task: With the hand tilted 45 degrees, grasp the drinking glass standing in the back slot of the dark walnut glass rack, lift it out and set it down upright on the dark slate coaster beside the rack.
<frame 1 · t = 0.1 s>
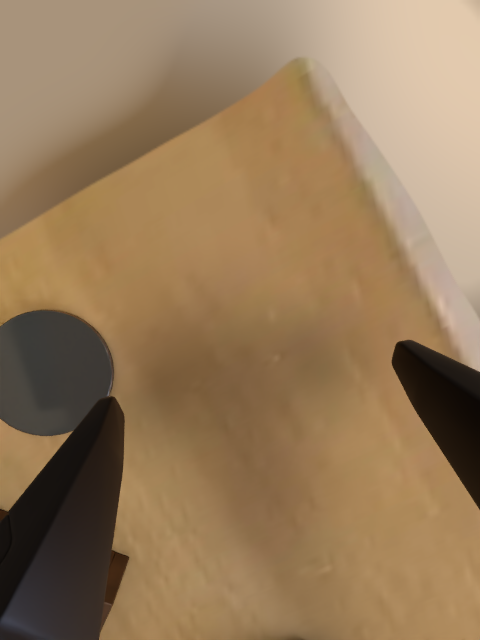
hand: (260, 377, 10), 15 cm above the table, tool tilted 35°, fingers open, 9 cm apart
coaster: (49, 372, 24), on the table
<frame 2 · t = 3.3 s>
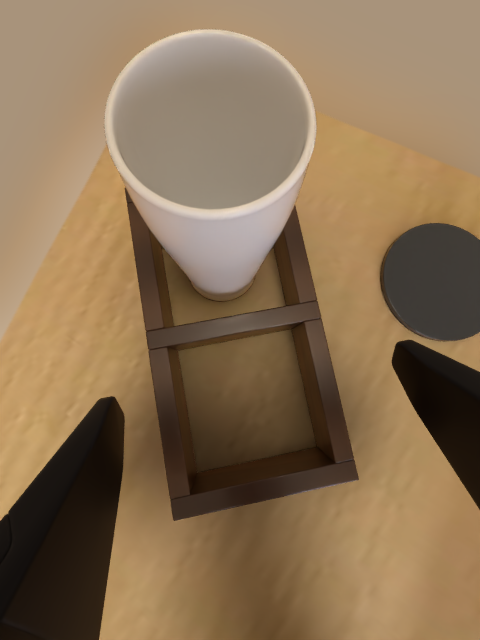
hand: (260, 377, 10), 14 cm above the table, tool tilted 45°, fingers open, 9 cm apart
coaster: (439, 281, 25), on the table
drinking glass: (222, 270, 24), resting in rack
rack: (233, 331, 24), on the table
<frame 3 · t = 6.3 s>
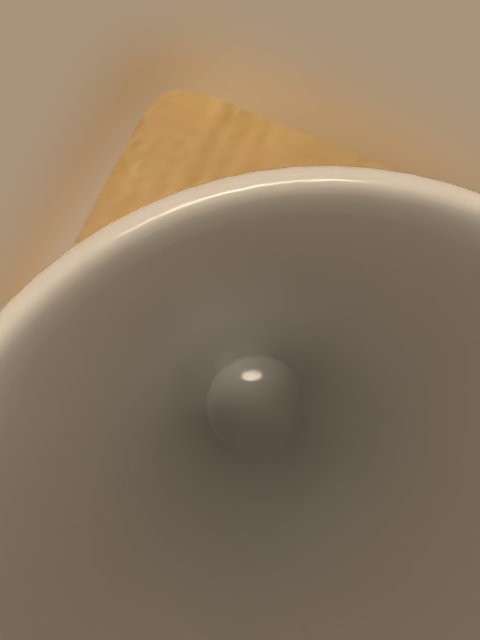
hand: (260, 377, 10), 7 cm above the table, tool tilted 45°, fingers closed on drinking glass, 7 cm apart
drinking glass: (254, 399, 17), resting in rack, touching gripper
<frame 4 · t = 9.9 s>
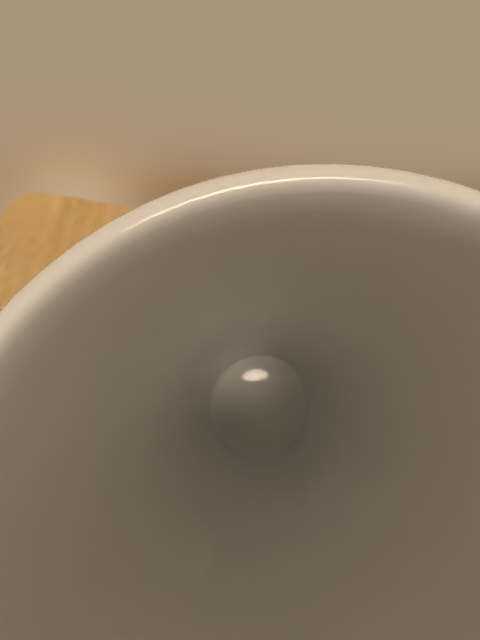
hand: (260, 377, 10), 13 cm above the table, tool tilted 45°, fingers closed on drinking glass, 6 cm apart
drinking glass: (258, 399, 17), point 6 cm above the table, touching gripper
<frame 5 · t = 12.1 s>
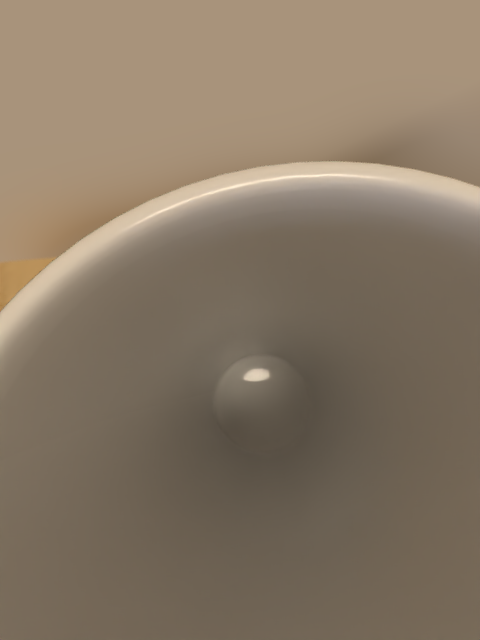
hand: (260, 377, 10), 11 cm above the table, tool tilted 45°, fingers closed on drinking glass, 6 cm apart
drinking glass: (260, 399, 17), point 3 cm above the table, touching gripper
when the fingers open (8 cm above the table, at t = 13.6 s): drinking glass stays where it is, resting on coaster.
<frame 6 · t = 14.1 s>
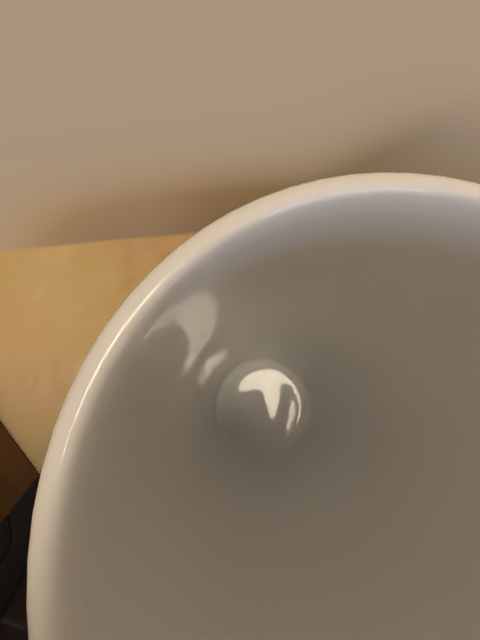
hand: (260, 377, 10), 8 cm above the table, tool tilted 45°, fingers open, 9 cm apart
drinking glass: (259, 403, 17), resting on coaster
rack: (8, 637, 16), on the table
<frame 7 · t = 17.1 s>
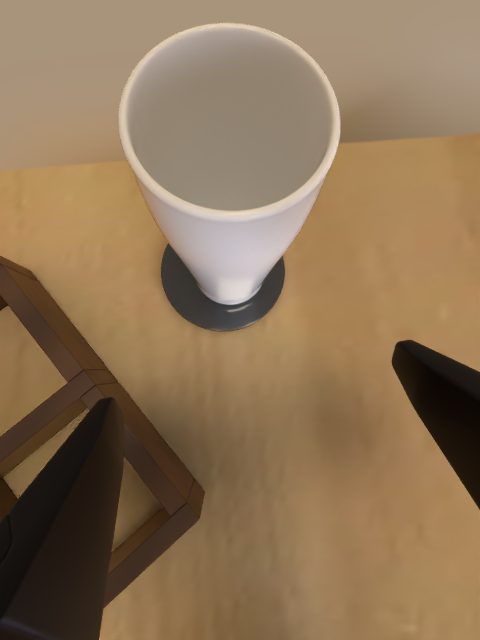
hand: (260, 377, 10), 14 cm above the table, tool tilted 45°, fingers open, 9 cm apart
coaster: (223, 271, 24), on the table
drinking glass: (229, 273, 24), resting on coaster
rack: (50, 427, 22), on the table
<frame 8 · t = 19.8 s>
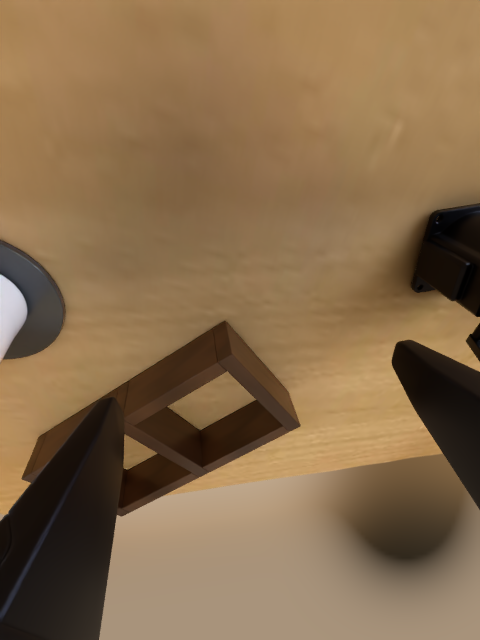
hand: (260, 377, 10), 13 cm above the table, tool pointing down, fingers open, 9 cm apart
rack: (167, 413, 30), on the table
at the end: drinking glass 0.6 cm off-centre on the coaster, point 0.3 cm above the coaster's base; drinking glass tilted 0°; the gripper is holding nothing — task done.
